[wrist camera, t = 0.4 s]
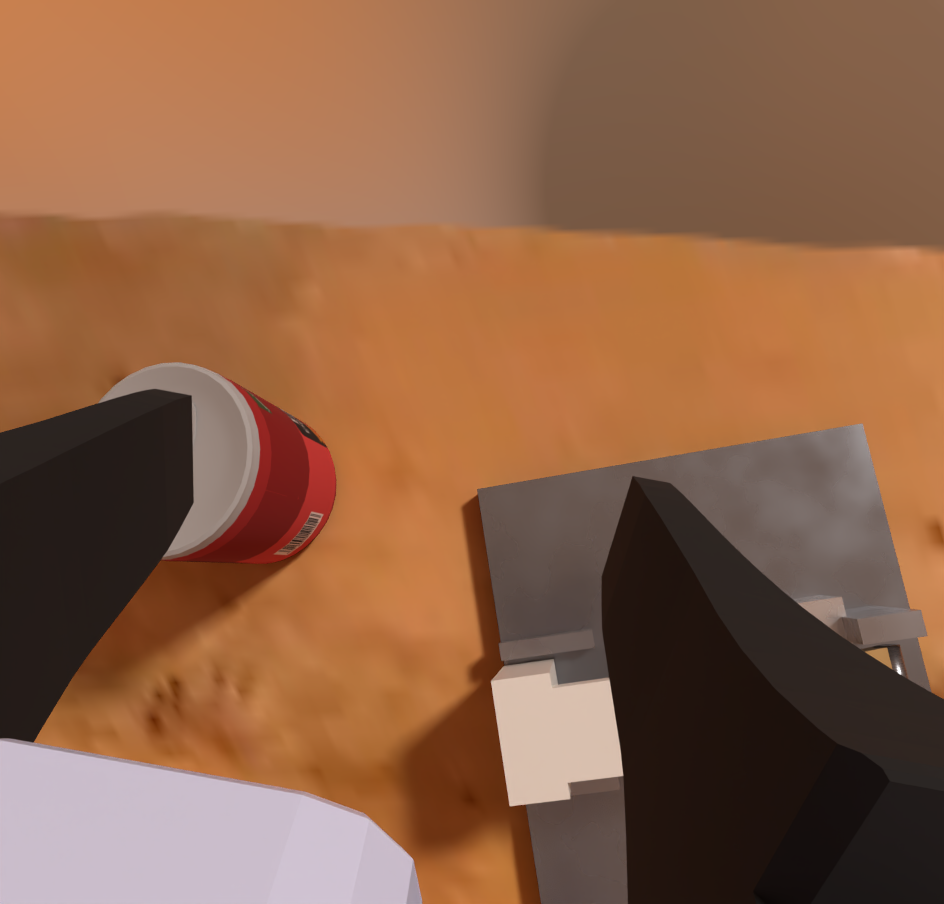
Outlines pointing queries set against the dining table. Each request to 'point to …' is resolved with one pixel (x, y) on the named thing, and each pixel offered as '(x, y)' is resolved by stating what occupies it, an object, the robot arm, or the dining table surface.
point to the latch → (553, 732)
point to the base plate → (747, 528)
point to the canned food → (243, 471)
